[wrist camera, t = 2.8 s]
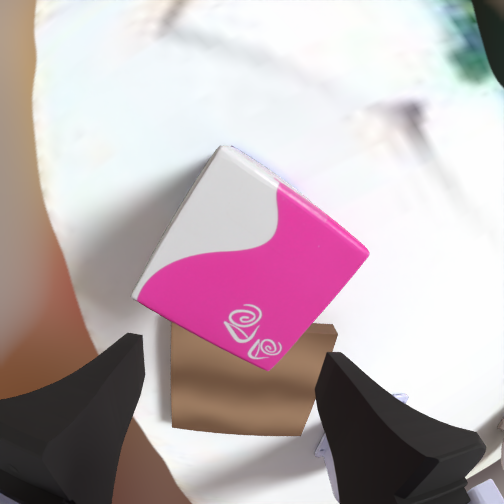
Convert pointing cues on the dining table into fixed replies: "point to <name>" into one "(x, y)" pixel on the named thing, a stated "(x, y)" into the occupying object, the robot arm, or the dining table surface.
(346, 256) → the supplement box
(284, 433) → the cardboard square
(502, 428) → the ceramic pitcher
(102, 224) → the dining table surface
